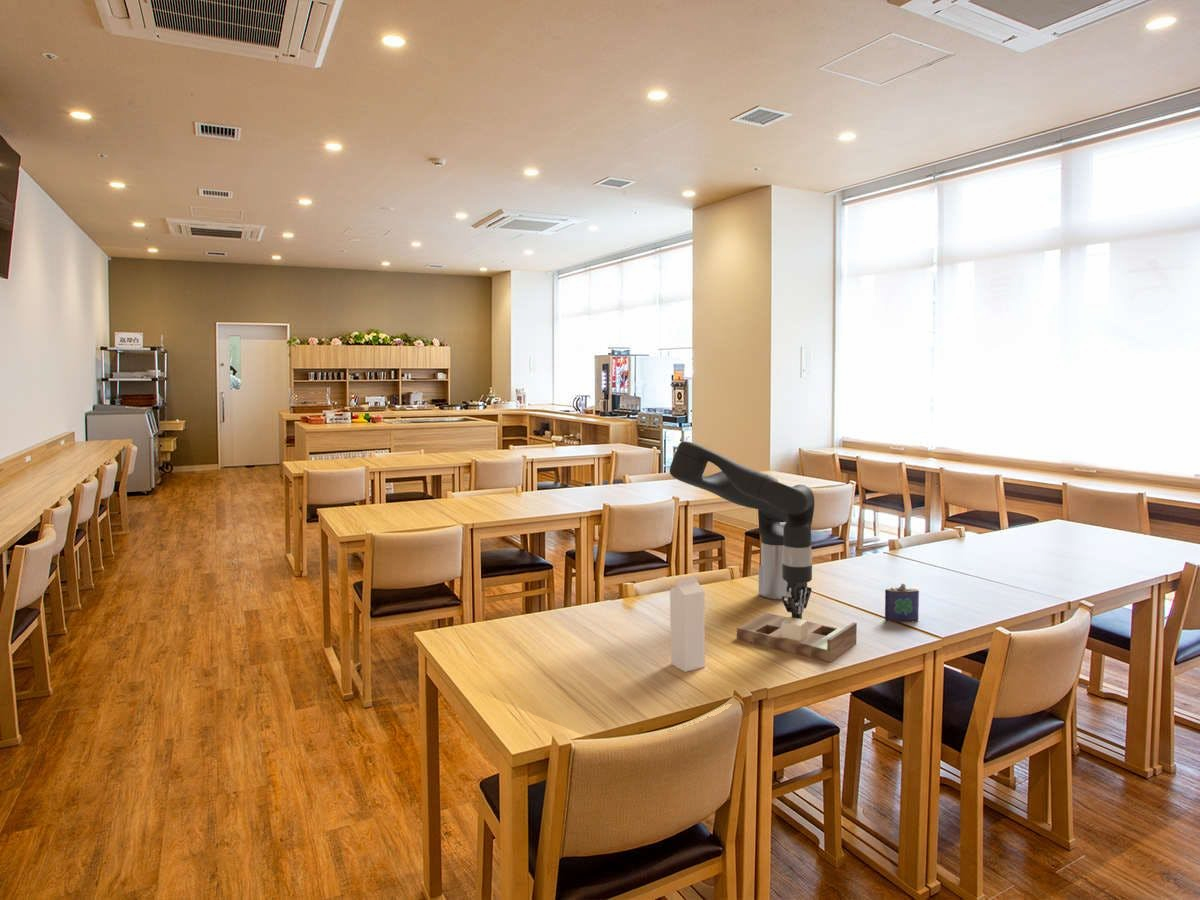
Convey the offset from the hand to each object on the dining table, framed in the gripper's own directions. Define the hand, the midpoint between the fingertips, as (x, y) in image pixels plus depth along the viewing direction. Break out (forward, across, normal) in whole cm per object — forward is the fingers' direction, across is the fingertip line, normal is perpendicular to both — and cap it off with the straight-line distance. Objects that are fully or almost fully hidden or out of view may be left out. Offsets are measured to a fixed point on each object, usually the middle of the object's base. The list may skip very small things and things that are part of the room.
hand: (796, 626), depth 193 cm
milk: (+4, -31, +13) cm, 34 cm away
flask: (+4, +33, -16) cm, 37 cm away
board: (+4, 0, 0) cm, 4 cm away
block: (+1, -5, -2) cm, 5 cm away
